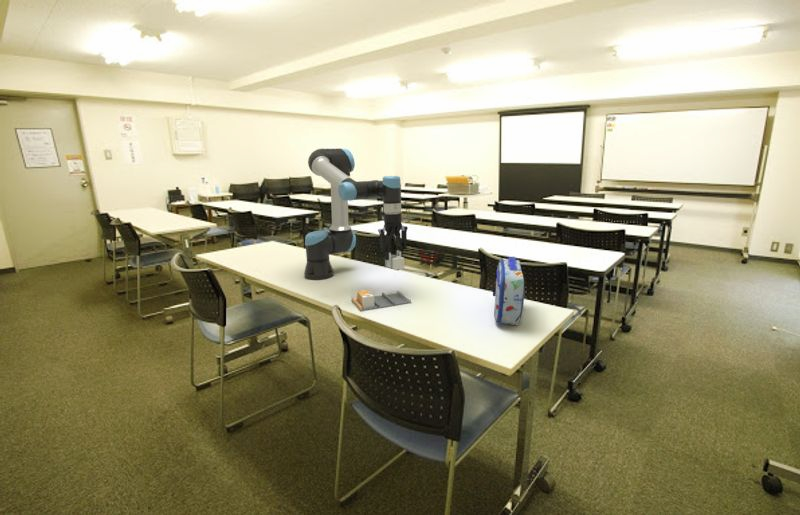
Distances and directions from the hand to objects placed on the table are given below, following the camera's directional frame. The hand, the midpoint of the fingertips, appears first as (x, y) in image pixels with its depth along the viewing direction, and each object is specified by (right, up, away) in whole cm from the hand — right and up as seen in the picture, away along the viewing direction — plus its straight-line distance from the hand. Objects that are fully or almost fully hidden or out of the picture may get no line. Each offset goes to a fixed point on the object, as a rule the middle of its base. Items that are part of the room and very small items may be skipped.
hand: (394, 266), depth 170 cm
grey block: (0, 0, 0) cm, 1 cm away
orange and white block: (-12, -16, -7) cm, 21 cm away
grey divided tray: (-6, -15, -4) cm, 17 cm away
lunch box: (+44, -19, -20) cm, 52 cm away
